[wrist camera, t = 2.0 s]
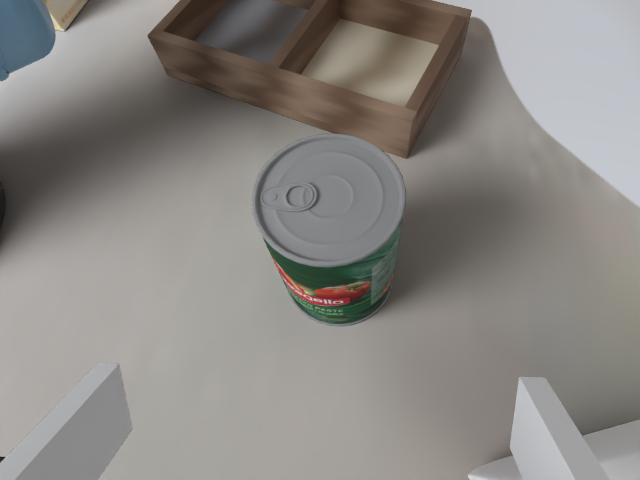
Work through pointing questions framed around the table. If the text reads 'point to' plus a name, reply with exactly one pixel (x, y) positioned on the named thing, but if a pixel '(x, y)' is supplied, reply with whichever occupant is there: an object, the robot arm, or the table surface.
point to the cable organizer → (607, 446)
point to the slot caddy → (321, 59)
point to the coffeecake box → (64, 11)
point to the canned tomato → (332, 224)
